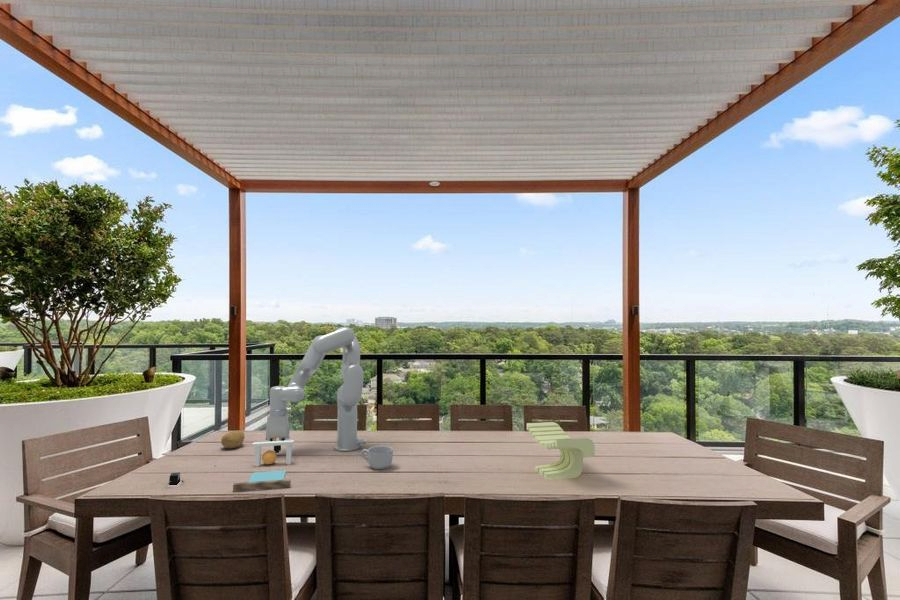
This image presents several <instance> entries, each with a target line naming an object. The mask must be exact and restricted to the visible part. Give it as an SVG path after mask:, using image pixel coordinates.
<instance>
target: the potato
mask: <svg viewBox="0 0 900 600" xmlns="http://www.w3.org/2000/svg"><path fill="white" fill-rule="evenodd" d="M245 437H246V435H245V433H244V431H243V430H240V429H239V430H233V431H229V432H228V433H225V434H224V435H223V436H222V437H221V440H220V442H221V445H222V446H223V447H225V448H226V449H235V448H238V447H240V446H241V445H242V444H243V442H244V441H245Z"/></svg>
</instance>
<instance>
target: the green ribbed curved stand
mask: <svg viewBox="0 0 900 600" xmlns="http://www.w3.org/2000/svg"><path fill="white" fill-rule="evenodd" d="M526 431H527V432H528V434H530V435H531V438H533V439H534V440H533V441H534V442H536V443H537V444H539V445H540V446H543V447H544V448H545V449H547V450H551V449H553V450H554V449H555V450H557V449H558V450H559V452H560V458H559V459H558V461H556V462H552V463H549V464H543V465H542V464H541V465H534V471H535V472H537V473H538V474H539V475H541V476H543V477H544V478H545V479H546V480H547V481H549V480H550V481H552V480H561V479H563V480H564V479H573V478H575V479H576V478H579V476H581V474H582V472H583V465H584V464H583V461H584V458H587V459H588V458H595V456H596V455H595V452H596V451H595V450H596V449H595V447H596V446H595V443H594V441H593V440H592V439H591V438H588V437H580V438H572V437H570V436H569V435H567V433H566V432H565V431H564V429H563V428H562V427H561V425H560V424H558V422H555V421H554V422H553V421H547V422H546V421H544V422H526Z"/></svg>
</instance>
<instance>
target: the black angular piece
mask: <svg viewBox="0 0 900 600" xmlns="http://www.w3.org/2000/svg"><path fill="white" fill-rule="evenodd" d="M180 481H181V471H180V472H179V471H177V472H172V473H171V474H170V475H169V480H168V484H169V485H177V484H178V483H179V482H180Z"/></svg>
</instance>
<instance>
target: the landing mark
mask: <svg viewBox="0 0 900 600" xmlns="http://www.w3.org/2000/svg"><path fill="white" fill-rule="evenodd" d="M286 473H287V469H286V470H271V471H255V472H253V473H252V474H251V476H250V478H249V479H248V481H247V482H258V481H272V480H285V475H286Z"/></svg>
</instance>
